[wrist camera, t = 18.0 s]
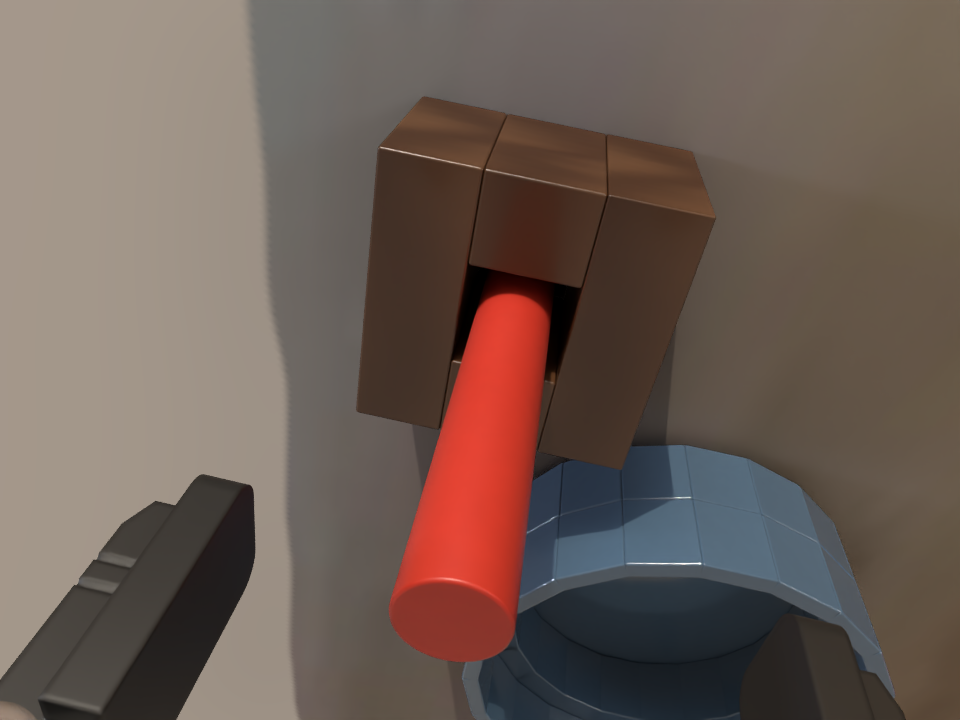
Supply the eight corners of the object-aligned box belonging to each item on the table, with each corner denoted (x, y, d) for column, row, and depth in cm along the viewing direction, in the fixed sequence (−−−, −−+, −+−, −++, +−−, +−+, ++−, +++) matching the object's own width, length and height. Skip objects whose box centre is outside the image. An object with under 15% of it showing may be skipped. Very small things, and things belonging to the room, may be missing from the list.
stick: (565, 228, 22) (527, 597, 10) (551, 284, 23) (502, 675, 12) (502, 215, 22) (393, 568, 11) (491, 271, 23) (381, 648, 12)
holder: (693, 151, 20) (717, 217, 16) (618, 374, 25) (621, 471, 21) (422, 95, 20) (377, 146, 16) (396, 326, 25) (355, 412, 21)
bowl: (909, 484, 25) (985, 627, 20) (759, 701, 33) (787, 843, 28) (521, 399, 26) (502, 520, 21) (463, 634, 34) (439, 762, 29)
